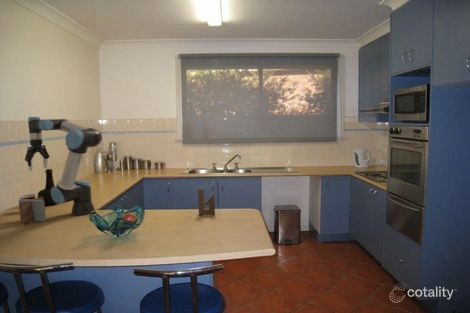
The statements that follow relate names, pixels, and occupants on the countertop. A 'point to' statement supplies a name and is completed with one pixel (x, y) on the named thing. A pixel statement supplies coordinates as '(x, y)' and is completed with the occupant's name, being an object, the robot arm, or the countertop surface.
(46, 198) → the dark brown vase
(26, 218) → the walnut board
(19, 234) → the countertop surface
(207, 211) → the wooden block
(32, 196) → the plastic cup
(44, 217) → the notched grey panel
